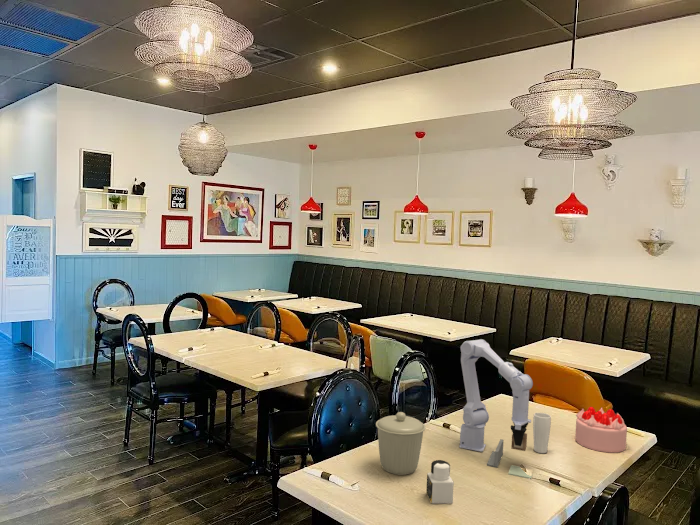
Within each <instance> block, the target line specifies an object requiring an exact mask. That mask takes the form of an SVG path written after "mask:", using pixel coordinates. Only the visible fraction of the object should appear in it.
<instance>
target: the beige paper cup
mask: <svg viewBox="0 0 700 525" xmlns="http://www.w3.org/2000/svg"><path fill="white" fill-rule="evenodd" d="M532 418H533V419H532V430H533V451H534V452H536V453H538V454H546V453H548V447H549V440H550V433H551V426H552V416H551V415H550V414H549V413H545V412H534V413H533V417H532Z"/></svg>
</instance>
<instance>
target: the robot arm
mask: <svg viewBox="0 0 700 525" xmlns="http://www.w3.org/2000/svg"><path fill="white" fill-rule="evenodd" d="M460 352H461V353H460V364H461V371H462V376H463V377H462V378H463V384H464V389H465V396H466V404H465V405H464V406H463V408H462V410H463V412H462V413H463V414H462V421H463V423H462V424H461V425H460V431H459V432H460V433H459V446H458V447H459V448H460V449H465V450H470V451H474V452H475V451H476V452H479V453H480V452H482V453H483V452H484V450H485V448H486V446H487V444H486V443H485V427H486V424H487V423H488V422H489V419H490V415H489V412H488V411H487V410H488V409H487V407H486V404H484V403H483V402H482V401H481V396H480V389H479V388H480V387H479V383H478V382H479V381H478V375H477V371H476V368H477V367H476V362H477V361H478V359H479V358H481V357H482V358H485V359H486V360H487V361H488V362H490V363H491V364H492V365H493V366H495V367H496V368H497V369H498V374H499V375H500V376H502V377H503V378H504V379H505V380H506V381H507V382H508V383H509V385H510V388H511V390H512V391H511V392H512V411H511V421H512V423H513V424H512V425H510V430H511V433H512V434H513V436H514V442H515V445H517V446H521V444H522V440H523V436H524V433H526V431H527V427H528V425H529V423H530V424H531V423H532V419H529V406H530V405H529V403H530V400H529V399H530V390H531V389H532V388H533V386H534V382H533V379H532V377H531V376H530V375H529V374H527V373H526V374H524V373H522V372H521V370H519V369H518V368H516V367H515V366H514V364H513V363H512V362H509V361H504V360H503V359H502V358H501V356H499V355H498V354H497V353H496V352H495V351H494V350H493V349H492V348H491V346H490V344H489V342H487V341H486V340H485V339H482V338H480V339H475V340H474V339H473V340H466V341H464V342H463V343H462V344H461V345H460Z"/></svg>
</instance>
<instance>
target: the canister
mask: <svg viewBox="0 0 700 525" xmlns="http://www.w3.org/2000/svg"><path fill="white" fill-rule="evenodd" d="M375 427H376V428H377V438H378V440H377V441H378V452H379V462H380V465H381V467H382V469H383V470H384V471H386V472H387V473H389V474H393V475H399V476H400V475H402V476H404V475H405V476H406V475H409V474H413V473H414V472H415V471H416V469H417V468H418V466H419V460H420V455H421V449H422V443H423V435H424V432H425V430H426V425H425V424H424V423H423V422H421V420H419V419H417V418H415V417H412V416H408V415H406V413H405V412H403V411H398V412H397V413H396V414H395V415H393V414H392V415H388V416H384V417H382V418H379V419H378V420H377V421H376V422H375Z"/></svg>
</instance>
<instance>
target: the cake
mask: <svg viewBox="0 0 700 525" xmlns="http://www.w3.org/2000/svg"><path fill="white" fill-rule="evenodd" d="M575 416H576V420H575V433H574V434H575V436H574V437H575V438H574V439H575V441H576V443H577V444H579V445H580V446H582V447H585V448H586V449H589V450H593V451H597V452H602V453H610V454H611V453H613V454H614V453H621V452H623V451H625V450H626V447H627V437H628V436H627V433H628V427H627V425H626V424H625V421H624V419H623V418H622V416H621V415H620V414H619V412H616V413H615V411H614V410H613V409H611V408H609V409H607V410H606V412H605V411H604V409H603V407H601V408H600V409H599V410H597V411H596V409H595V408H594V407H593V406H589V407H588V408H587V409H586V410H585V409H584V408H582V409H581V410H580V411H578V412H577V413H576V414H575Z"/></svg>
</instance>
